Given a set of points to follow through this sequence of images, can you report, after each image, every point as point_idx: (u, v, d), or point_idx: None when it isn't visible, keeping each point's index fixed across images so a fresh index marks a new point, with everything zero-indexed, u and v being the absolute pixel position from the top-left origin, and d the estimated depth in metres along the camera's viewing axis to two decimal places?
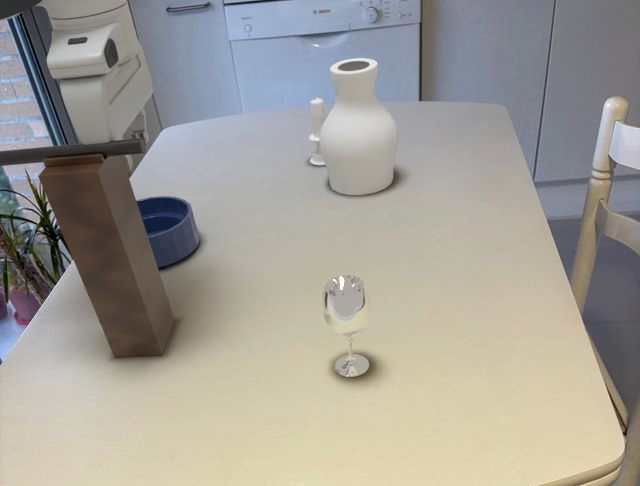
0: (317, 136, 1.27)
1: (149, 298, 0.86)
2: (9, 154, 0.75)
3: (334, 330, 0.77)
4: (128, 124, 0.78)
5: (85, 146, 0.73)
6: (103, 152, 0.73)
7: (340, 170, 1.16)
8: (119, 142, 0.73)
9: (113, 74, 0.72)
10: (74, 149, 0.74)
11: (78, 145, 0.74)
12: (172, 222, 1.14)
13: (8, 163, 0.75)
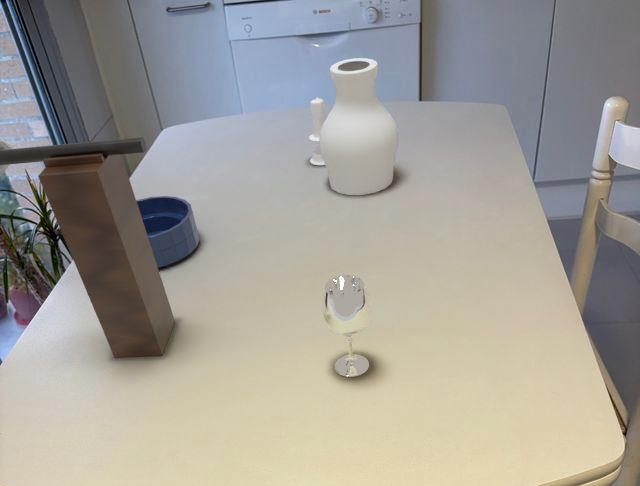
0: (317, 136, 1.27)
1: (149, 298, 0.86)
2: (10, 151, 0.75)
3: (334, 330, 0.77)
4: None
5: (86, 143, 0.74)
6: (103, 149, 0.73)
7: (340, 170, 1.16)
8: (120, 140, 0.73)
9: None
10: (75, 145, 0.74)
11: (79, 143, 0.74)
12: (172, 222, 1.14)
13: (8, 161, 0.75)
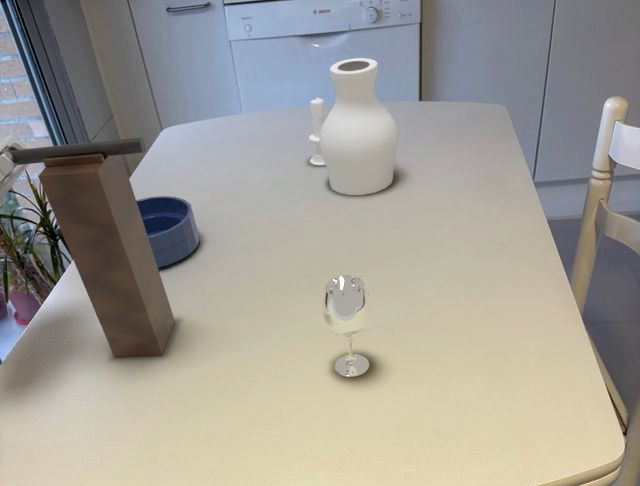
0: (317, 136, 1.27)
1: (149, 298, 0.86)
2: None
3: (334, 330, 0.77)
4: (14, 177, 0.80)
5: (85, 145, 0.73)
6: (103, 151, 0.73)
7: (340, 170, 1.16)
8: (119, 141, 0.73)
9: (0, 202, 0.86)
10: (74, 148, 0.73)
11: (78, 145, 0.74)
12: (172, 222, 1.14)
13: None
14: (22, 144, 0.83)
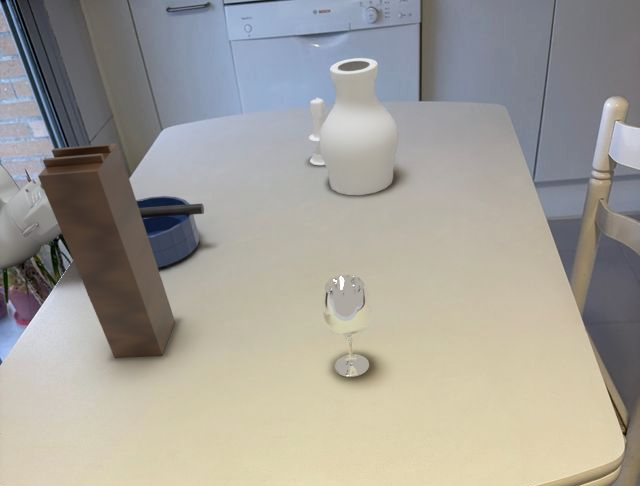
0: (317, 136, 1.27)
1: (149, 298, 0.86)
2: None
3: (334, 330, 0.77)
4: None
5: (162, 210, 1.06)
6: (175, 214, 1.06)
7: (340, 170, 1.16)
8: (186, 208, 1.05)
9: None
10: (155, 212, 1.06)
11: (157, 209, 1.06)
12: (172, 222, 1.14)
13: None
14: None
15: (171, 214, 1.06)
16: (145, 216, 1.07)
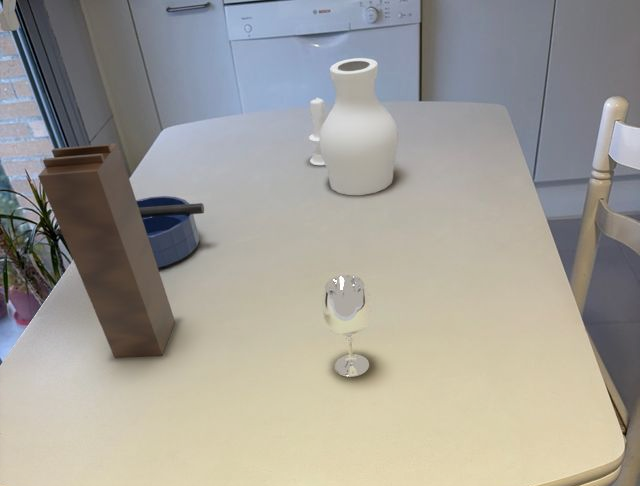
0: (317, 136, 1.27)
1: (149, 298, 0.86)
2: None
3: (334, 330, 0.77)
4: None
5: (162, 209, 1.06)
6: (175, 213, 1.06)
7: (340, 170, 1.16)
8: (186, 206, 1.06)
9: None
10: (155, 211, 1.06)
11: (157, 208, 1.06)
12: (172, 222, 1.14)
13: None
14: None
15: (171, 213, 1.06)
16: (145, 215, 1.07)
